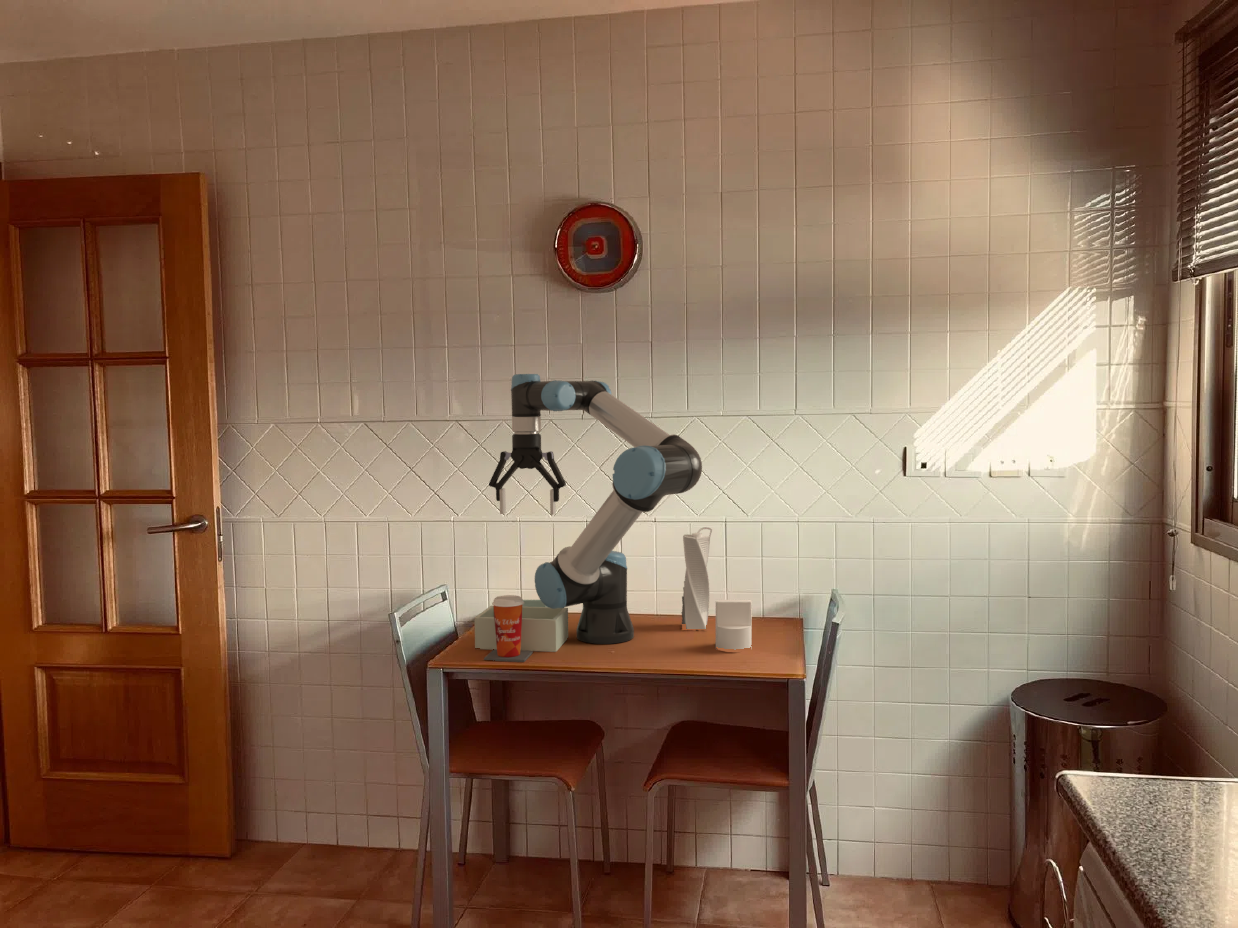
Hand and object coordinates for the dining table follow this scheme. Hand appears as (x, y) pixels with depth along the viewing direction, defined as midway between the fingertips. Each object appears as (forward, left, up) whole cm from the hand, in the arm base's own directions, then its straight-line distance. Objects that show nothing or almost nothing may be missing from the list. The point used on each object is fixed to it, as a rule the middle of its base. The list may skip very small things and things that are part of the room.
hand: (527, 513), depth 254 cm
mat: (0, +20, -33) cm, 38 cm away
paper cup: (0, +20, -32) cm, 38 cm away
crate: (0, +7, -33) cm, 33 cm away
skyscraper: (-43, -15, -33) cm, 56 cm away
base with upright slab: (-54, +4, -33) cm, 63 cm away
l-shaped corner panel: (+5, -16, -33) cm, 37 cm away
